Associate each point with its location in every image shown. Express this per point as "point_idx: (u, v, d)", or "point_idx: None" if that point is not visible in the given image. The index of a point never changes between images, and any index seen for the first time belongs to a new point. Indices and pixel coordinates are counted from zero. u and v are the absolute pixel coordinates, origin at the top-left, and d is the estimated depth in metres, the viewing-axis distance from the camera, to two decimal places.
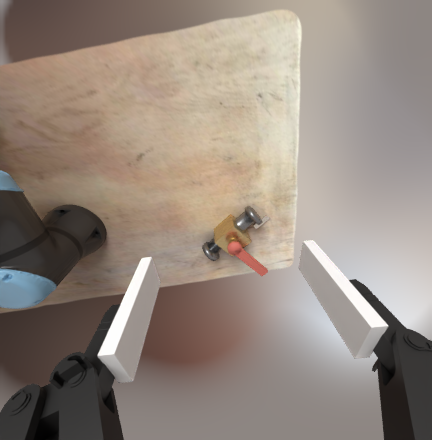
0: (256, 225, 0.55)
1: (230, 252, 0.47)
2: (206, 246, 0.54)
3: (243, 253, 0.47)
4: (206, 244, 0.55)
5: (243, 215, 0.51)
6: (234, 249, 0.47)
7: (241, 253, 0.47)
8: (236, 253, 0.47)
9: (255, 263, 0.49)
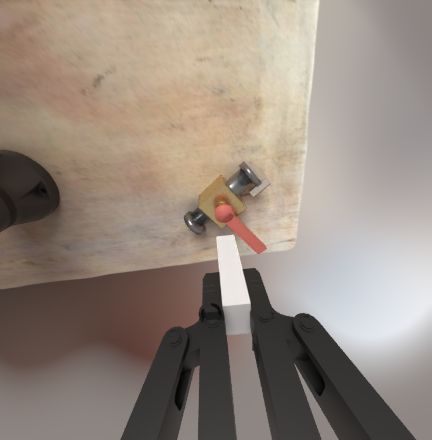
0: (253, 191, 0.44)
1: (218, 218, 0.35)
2: (189, 215, 0.42)
3: (235, 220, 0.36)
4: (189, 213, 0.43)
5: (237, 174, 0.39)
6: (223, 214, 0.35)
7: (233, 220, 0.36)
8: (226, 220, 0.36)
9: (250, 235, 0.38)
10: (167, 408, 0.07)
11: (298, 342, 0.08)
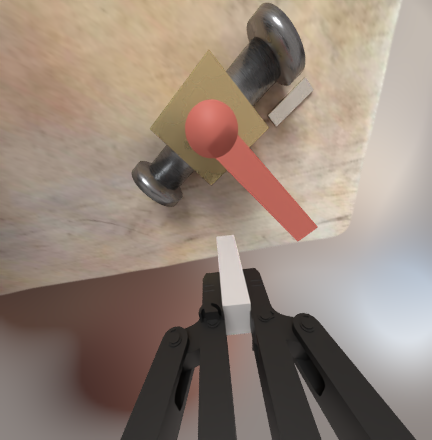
0: (276, 114, 0.21)
1: (196, 144, 0.13)
2: (142, 166, 0.20)
3: (243, 150, 0.13)
4: (145, 164, 0.21)
5: (242, 53, 0.16)
6: (210, 129, 0.12)
7: (237, 150, 0.13)
8: (218, 149, 0.13)
9: (282, 194, 0.15)
10: (167, 408, 0.07)
11: (298, 342, 0.08)
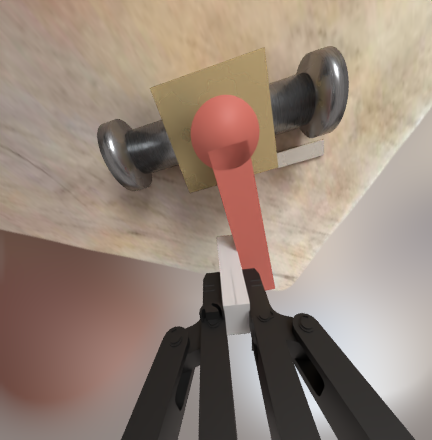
0: (284, 156, 0.20)
1: (199, 140, 0.10)
2: (118, 126, 0.15)
3: (247, 177, 0.11)
4: (123, 126, 0.16)
5: (287, 79, 0.15)
6: (224, 133, 0.10)
7: (241, 174, 0.11)
8: (221, 161, 0.10)
9: (260, 243, 0.13)
10: (168, 408, 0.07)
11: (297, 342, 0.08)
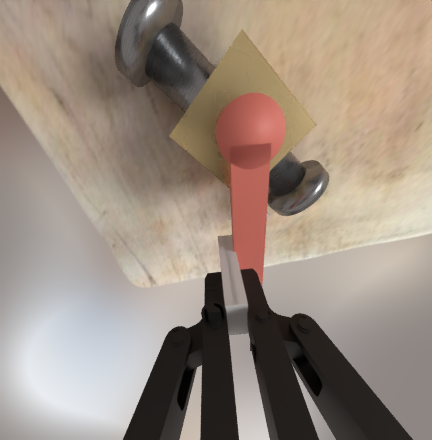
0: None
1: (224, 132, 0.10)
2: (176, 8, 0.12)
3: (262, 180, 0.11)
4: (178, 15, 0.13)
5: (295, 159, 0.18)
6: (250, 131, 0.10)
7: (257, 175, 0.11)
8: (241, 158, 0.10)
9: (258, 247, 0.13)
10: (170, 408, 0.07)
11: (295, 342, 0.08)
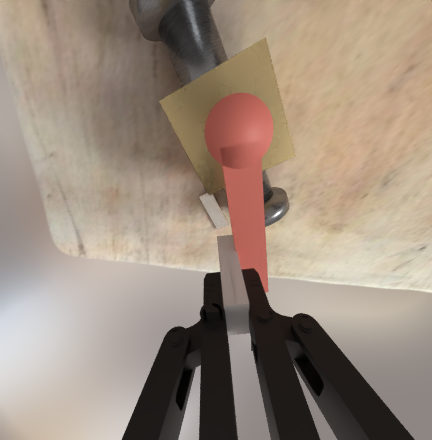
0: (209, 199, 0.22)
1: (213, 135, 0.10)
2: None
3: (255, 178, 0.11)
4: None
5: (268, 181, 0.19)
6: (238, 131, 0.10)
7: (250, 174, 0.11)
8: (232, 159, 0.10)
9: (260, 245, 0.13)
10: (168, 408, 0.07)
11: (296, 342, 0.08)
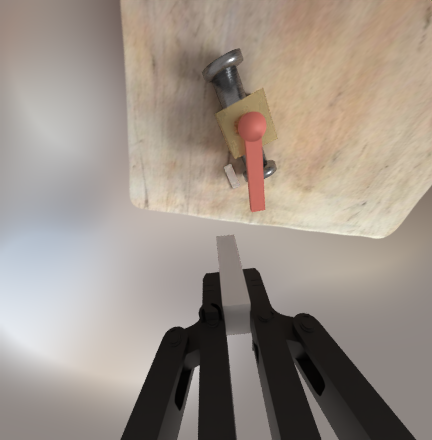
0: (229, 168, 0.37)
1: (242, 127, 0.24)
2: (239, 61, 0.26)
3: (259, 146, 0.26)
4: (238, 63, 0.27)
5: (264, 155, 0.34)
6: (252, 126, 0.24)
7: (257, 144, 0.25)
8: (249, 137, 0.25)
9: (260, 180, 0.28)
10: (167, 408, 0.07)
11: (298, 342, 0.08)
